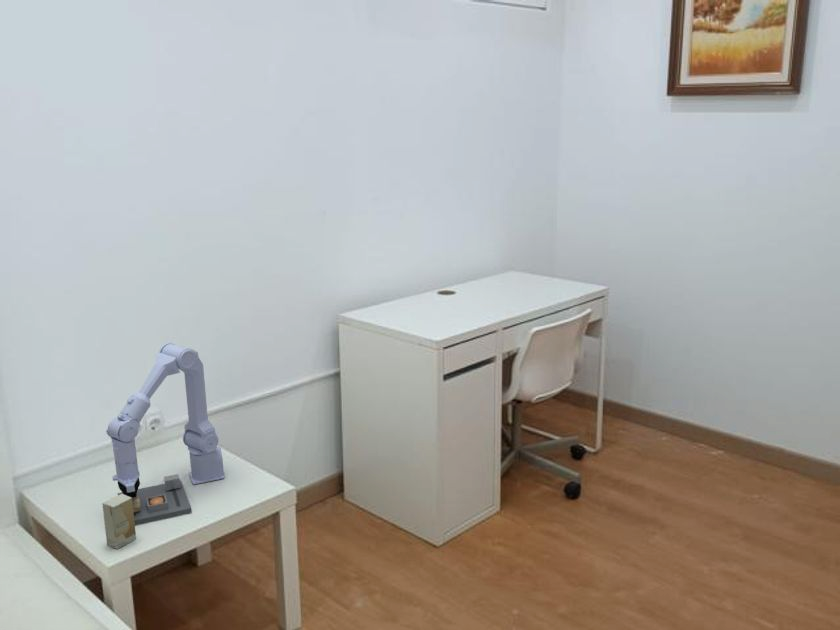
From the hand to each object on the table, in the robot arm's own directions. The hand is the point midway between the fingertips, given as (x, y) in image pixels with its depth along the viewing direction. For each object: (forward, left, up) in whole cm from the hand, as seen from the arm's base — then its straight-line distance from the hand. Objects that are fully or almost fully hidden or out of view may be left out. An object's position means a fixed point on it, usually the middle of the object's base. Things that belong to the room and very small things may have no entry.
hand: (131, 503), depth 220 cm
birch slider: (0, +3, 0) cm, 3 cm away
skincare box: (+4, +15, -3) cm, 16 cm away
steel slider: (-12, -6, 0) cm, 13 cm away
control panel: (-6, -1, -2) cm, 7 cm away
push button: (-6, +3, -1) cm, 7 cm away
